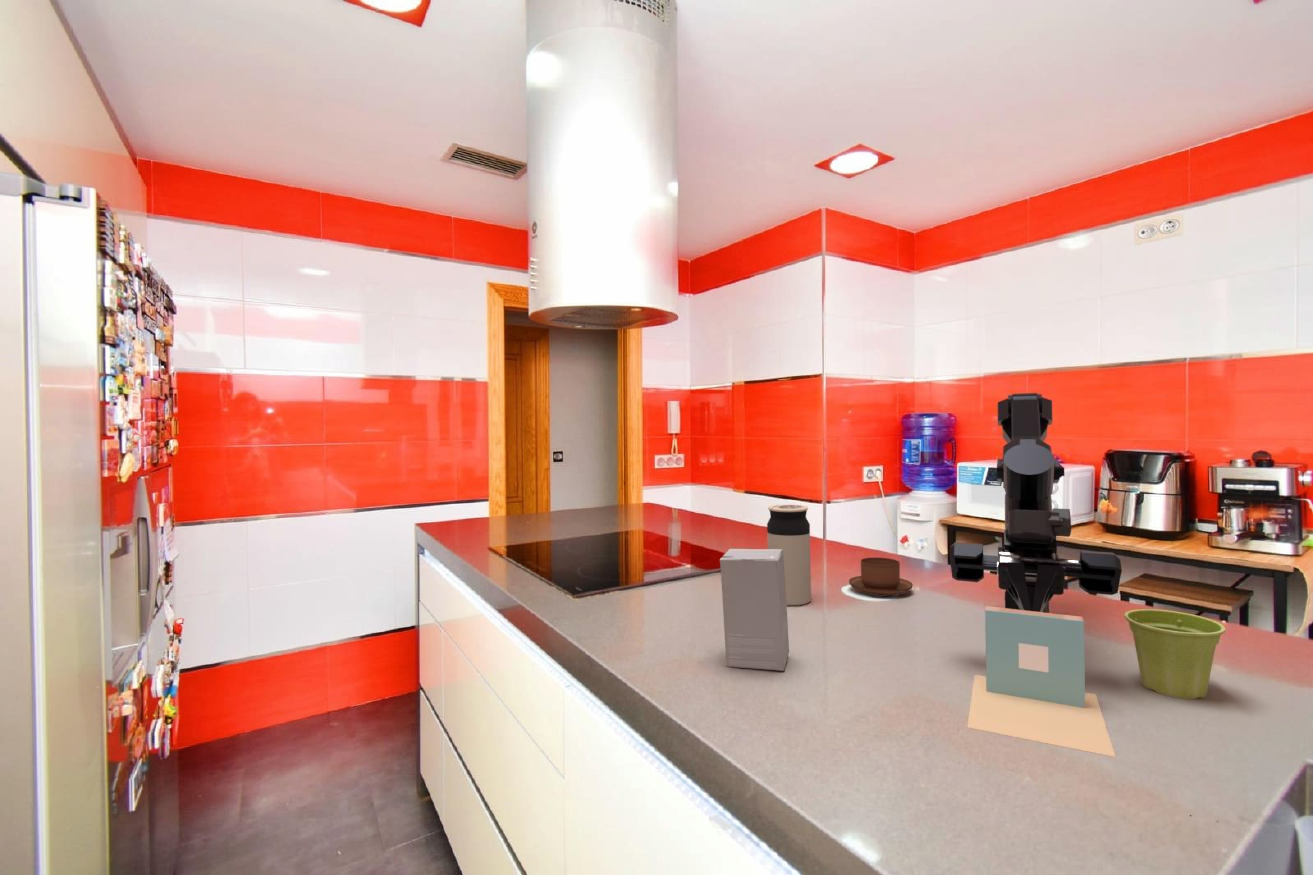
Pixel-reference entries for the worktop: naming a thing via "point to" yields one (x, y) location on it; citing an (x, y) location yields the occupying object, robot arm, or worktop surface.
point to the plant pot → (1174, 650)
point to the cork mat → (1040, 720)
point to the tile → (1035, 655)
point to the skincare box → (755, 608)
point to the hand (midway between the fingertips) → (1032, 625)
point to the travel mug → (792, 549)
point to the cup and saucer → (880, 577)
